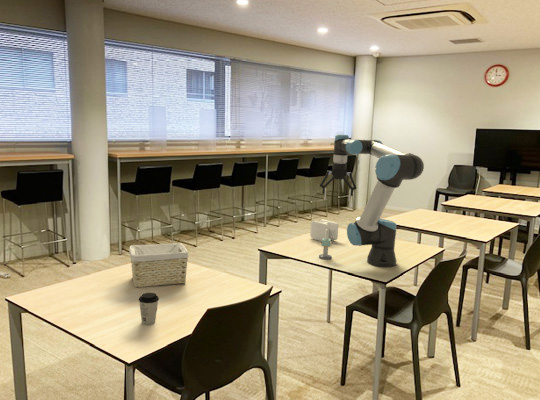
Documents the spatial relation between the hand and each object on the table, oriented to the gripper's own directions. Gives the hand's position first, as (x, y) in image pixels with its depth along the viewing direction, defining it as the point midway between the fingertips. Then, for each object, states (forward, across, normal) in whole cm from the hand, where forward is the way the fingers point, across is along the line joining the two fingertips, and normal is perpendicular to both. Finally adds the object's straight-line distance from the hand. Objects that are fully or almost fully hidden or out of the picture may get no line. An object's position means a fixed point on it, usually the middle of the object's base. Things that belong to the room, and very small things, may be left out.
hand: (337, 200), depth 270 cm
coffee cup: (+29, +64, +115) cm, 135 cm away
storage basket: (+29, +76, +74) cm, 110 cm away
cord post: (+29, +4, +17) cm, 34 cm away
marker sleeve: (+22, +4, +17) cm, 28 cm away
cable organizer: (+29, +6, -22) cm, 37 cm away
